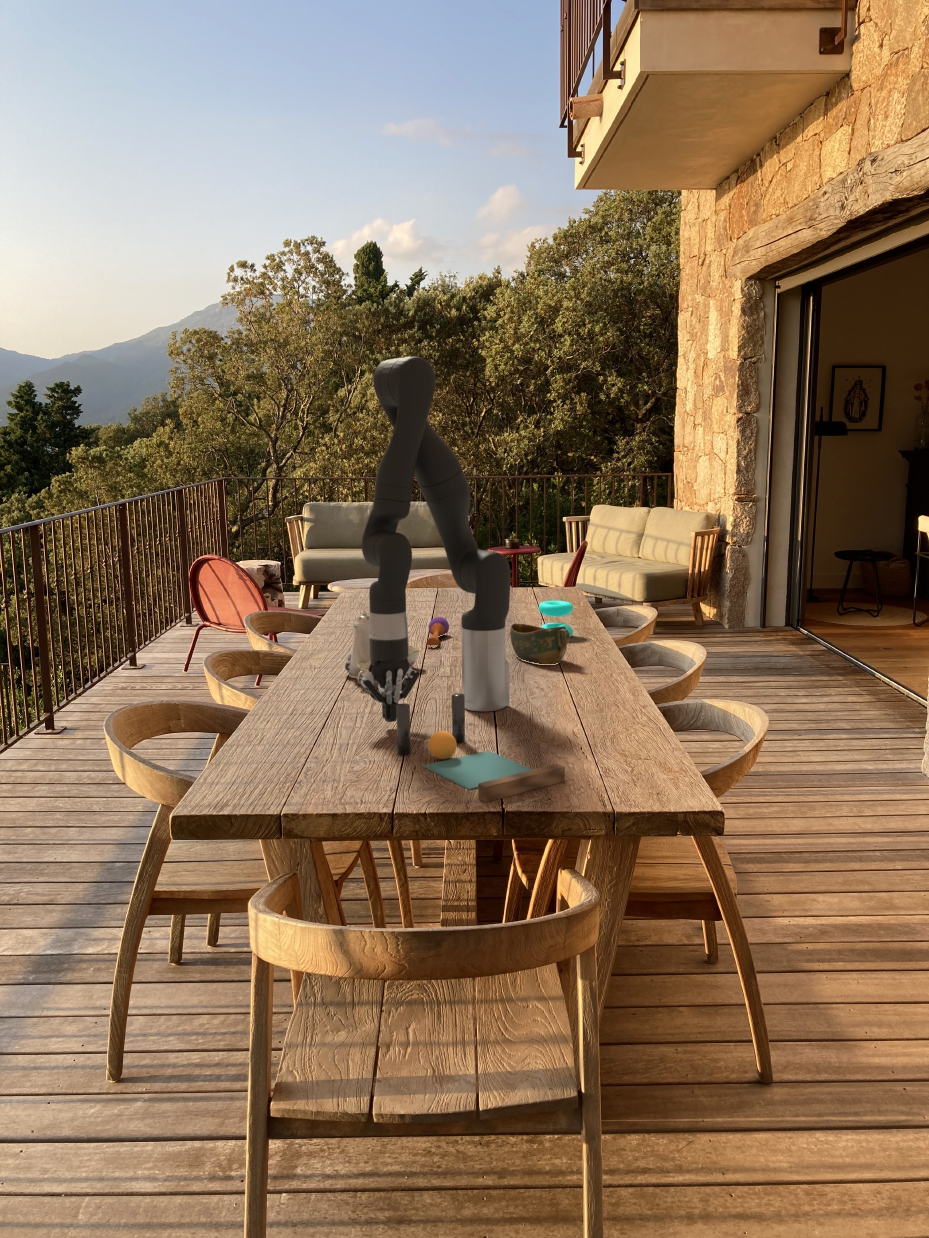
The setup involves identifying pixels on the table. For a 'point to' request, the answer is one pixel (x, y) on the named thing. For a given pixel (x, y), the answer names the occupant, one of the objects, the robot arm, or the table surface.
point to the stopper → (521, 782)
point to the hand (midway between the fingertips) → (390, 720)
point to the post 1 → (403, 729)
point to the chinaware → (366, 650)
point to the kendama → (437, 630)
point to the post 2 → (458, 717)
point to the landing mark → (476, 768)
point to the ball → (442, 745)
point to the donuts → (556, 612)
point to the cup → (539, 643)
